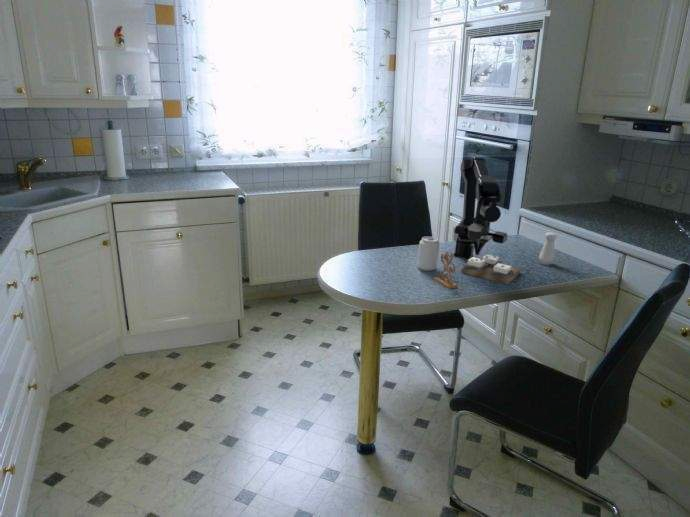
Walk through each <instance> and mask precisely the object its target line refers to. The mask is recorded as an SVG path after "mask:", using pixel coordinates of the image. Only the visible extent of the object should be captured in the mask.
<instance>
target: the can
mask: <svg viewBox="0 0 690 517" xmlns="http://www.w3.org/2000/svg"><path fill="white" fill-rule="evenodd" d="M440 245H441V244H440V242H439V239H438V238H437V237H434V236H423V237H421V240H420V241H419V245H418V254H417V263H416V265H417V267H418V268H419V270H422V271H425V272H432V271H434V270H436V269H437V267H438V259H439V252H440Z"/></svg>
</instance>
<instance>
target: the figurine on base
mask: <svg viewBox="0 0 690 517" xmlns="http://www.w3.org/2000/svg"><path fill="white" fill-rule="evenodd" d="M453 260H454V255H453V253H452V252H451V251H446V252H445V253H442V254H441V255H440V261H441V263H442V264H443V265H444V266H443V270H442V272H441V273H440V275H439V276H436V277H434V278H433V281H435V282H436V283H437V284H439V285H442V286H443V287H445V288H446V289H450V290H451V289H456V288H458V284H456V283H455V282H453V278H452V274H455V273H456V266H455V264H454V263H453V262H452V261H453ZM450 265H451V266H450ZM445 272H446V273H445ZM444 273H445V274H444Z"/></svg>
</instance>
